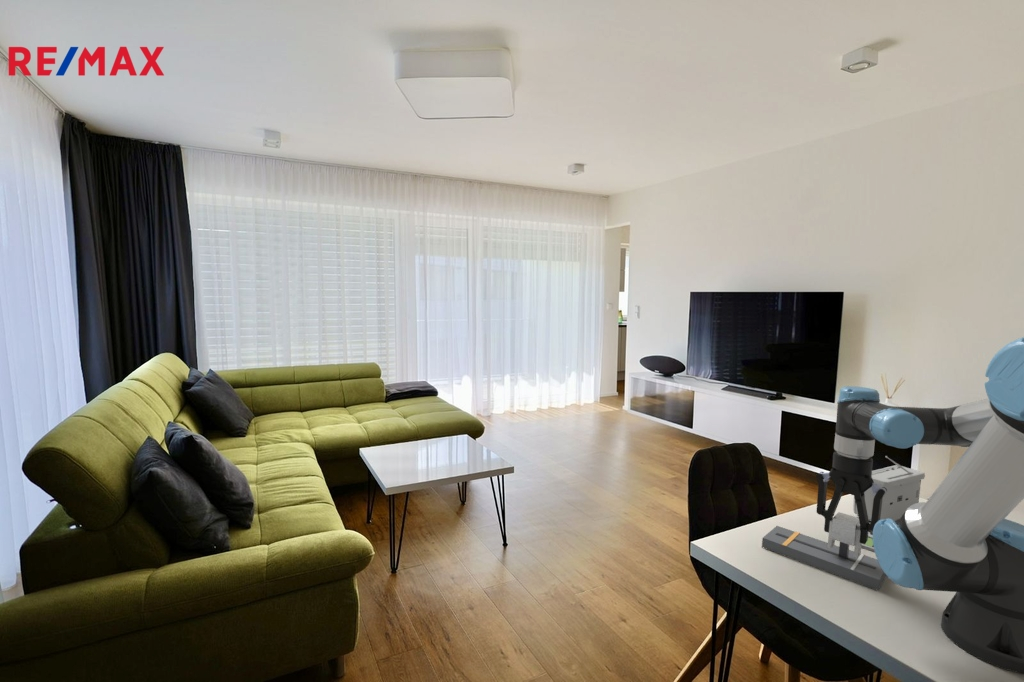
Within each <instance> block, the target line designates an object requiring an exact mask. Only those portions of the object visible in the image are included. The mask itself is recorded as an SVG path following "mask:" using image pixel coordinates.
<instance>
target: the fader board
mask: <svg viewBox="0 0 1024 682" xmlns="http://www.w3.org/2000/svg"><path fill="white" fill-rule="evenodd" d="M761 539H762V540H761V548H763V547H764V549H765V548H767V549H766V550H768V549H769V551H771V550H772V551H771V552H773V551H774V552H773V553H776V552H777V554H779V555H781V554H782V556H784V555H785V556H784V557H786V558H790V559H793V560H794V561H797V560H798V561H797V562H800V563H804V564H805V563H806V565H807V566H808V565H809V566H811V567H814V568H817V569H820V570H822V571H824V572H827V573H830V574H833V575H835V576H838V577H840V578H842V579H846V580H849V581H850V582H853V583H856V584H860V585H862V586H863V587H867V588H869V589H873V590H875V591H880V588H881V587H882V585H883V583H884V581H885V579H886V578H887V577H888V576H887V575H886V574H885V573H884V571H883V570H882V568H881V566H880V564H879V562H878V560H877V558H874V557H871V556H868V555H865V554H863V553H861V554H860V555H859V557H858V558H857V557H854V550H850V549H849V555H848V557H847V558H844V557H841V556H839V546H840V545H836V544H834V546H833V547H832V548H828V541H827V542H826V541H824V540H821V539H818V538H814V537H812V536H809V535H806V534H803V533H800V532H799V531H793V530H791V529H788V528H785V527H781V526H779V525H776V526H775V527H774V528H772V529H771V530H770V531H768V533H766V534H765V535H764V536H763V537H762V538H761ZM880 586H881V587H880Z"/></svg>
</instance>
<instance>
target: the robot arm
mask: <svg viewBox="0 0 1024 682" xmlns="http://www.w3.org/2000/svg"><path fill="white" fill-rule="evenodd" d="M984 374H985V377H987V378H988V381H987V382H985V383H984V390H985V393H986V396H987V398H985V399H981V400H976V401H972V402H969V403H968V402H967V403H964V404H960V405H956V406H952V407H946V408H939V407H938V408H936V407H935V408H933V407H915V406H913V407H912V406H893V405H892V406H891V405H887V404H883V403H881V400H880V393H879V391H878V390H876V389H875V388H870V387H863V386H855V385H854V386H853V385H851V386H850V385H848V386H843V387H841V388H840V390H839V395H838V399H837V403H836V404H837V408H836V409H837V410H836V421H835V422H836V424H835V433H834V435H835V436H834V443H833V449H834V451H833V454H832V465H831V469H830V471H828V472H824V471H819V472H818V473H816V479H817V480H816V481H817V483H818V487H817V501H816V513H817V515H820V516H822V517H824V527H823V530H824V532H826V533H828V539H827V543H828V548H832V547H833V546H834V545H836V544H835V542H836V540H834V539H831V532H832V521H833V517H834V516H835V512H836V510H837V507H838V506H839V503H840V500H841V498H842V496H843V494H849V495H851V496H853V499H854V498H855V500H856V505H857V511H858V516H857V517H858V518H859V522H860V526H859V527H858V528H857V529H856V539H855V546H854V549H853V551H854V557H857V558H858V557H859V555H860V554H862V548H861V545H862V544H865V543H866V542H867V541H868V532H869V531H870V530H871V531H873V545H874V551H875V552H874V554H875V557H876V559H877V560H878V562H879V564H880V566H881V568H882V570H883V571H884V573H885V574H886V575H887V576H886V577H887V578H888V579H890V581H891V582H893V583H894V584H896V585H898V586H900V587H901V588H906V589H914V590H917V591H935V592H937V591H938V592H939V591H940V592H953V593H954V595H953V596H952V598H951V599H950V601H949V603H948V604H947V605H946V607H945V609H944V610H943V612H942V613H941V619H940V620H941V621H940V628H941V630H942V632H943V634H944V635H945V636H946V637H947V638H948V639H949V640H950V641H951V642H952V643H954V644H955V645H956V646H958V647H959V648H961V649H963V650H964V651H965V652H966V653H968V654H970V655H971V656H972V655H973V656H975V657H976V658H977V659H980V660H982V661H984V662H986V663H988V664H990V665H994V666H995V667H999V668H1002V669H1004V670H1008V671H1010V672H1013V673H1018V674H1022V675H1024V524H1021V523H1018V522H1016V521H1012V520H1010V519H1007V516H1009V515H1010V513H1011V512H1013V511H1014V510H1015V508H1016V507H1017V506H1018V505H1020V503H1021V502H1022V501H1023V500H1024V336H1023V337H1020V338H1018V339H1015V340H1013V341H1010V342H1009V343H1007V344H1006V345H1004V346H1003V347H1002V348H1000V350H998V351H997V352H996V354H994V355H993V357H992V358H991V360H990V361H989V364H988V365H987V368H986V372H985V373H984ZM876 441H878V442H879V443H881V444H884V445H886V446H889V447H893V448H896V449H908V448H911V447H913V446H916V445H936V446H937V445H939V446H955V447H961V448H962V447H963V448H967V449H966V451H964V453H963V454H962V455H961V456H960V458H959V459H958V460H957V462H956V463H955V464H954V466H953V467H952V468H951V469H950V471H949V472H948V474H947V475H946V476H945V477H944V478H943V480H942V481H941V483H940V484H939V485H938V486H937V488H936V489H935V490H934V492H932V494H931V495H930V496H929V498H928V500H927V501H926V502H923V501H922V502H919V503H915V504H913V505H911V506H910V507H908V508H907V510H906V511H905V512H904V514H903V515H902V516H901V518H900V519H897V520H892V519H889V518H887V519H882V520H880V516H881V508H882V499H883V496H884V495H885V493H886V492H887V489H886V488H885V487H880V486H878V485H876V484H874V481H873V479H872V471H873V467H874V465H873V463H874V459H873V458H872V457H873V456H875V455H874V454H875V453H874V452H875V443H876ZM830 480H831V481H832V482H833V484H834V486H835V488H834V492H833V495H832V497H831V500H830V503H829V505H828V507H827V509H826V505H827V494H828V492H827V491H828V482H829V481H830ZM869 488H872V490H873V492H872V493H873V494H874V495H875V497H874V500H873V509H872V518H871V521H869V520H868V515H867V509H866V503H865V494H864V492H865V491H867V490H868V489H869Z"/></svg>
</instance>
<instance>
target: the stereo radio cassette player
mask: <svg viewBox="0 0 1024 682" xmlns="http://www.w3.org/2000/svg"><path fill="white" fill-rule="evenodd" d="M885 458H886V459H888V460H889V461H890V462H892V463H893V464H895V465H891V466H887V467H883V468H878V469H875V470H874V469H872V479H873V481H874V484H876V485H878V486H880V487H885V488H886V489H887V492H886V493H885V495H884V496H883V499H882V508H881V516H880V520H882V519H887V518H889V519H892V520H897V519H900V518H901V516H902V515H903V514H904V512H905V511H906V510H907V508H908V507H910V506H911V505H913V504H915V503H920V495H921V493H920V492H921V483H922V480H924V479H925V477H926V475H925V472H923V471H921V470H916V469H913V468H911V467H910V468H909V467H906V466H903V465H901V464H899V463H897V462H896V461H894V460H893V459H891V458H889V457H888V455H885ZM872 492H873V490H872V488H869V489H868V490H867V491H865V492H864V494H865V503H866V509H867V515H868V520H869V522H871V518H872V509H873V500H874V497H875V495H874V494H873V493H872ZM852 509H853V510H852V511H853V513H854V514H855V515H857V517H859V516H858V511H857V505H856V500H855V498H854V497H853V508H852Z"/></svg>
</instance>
